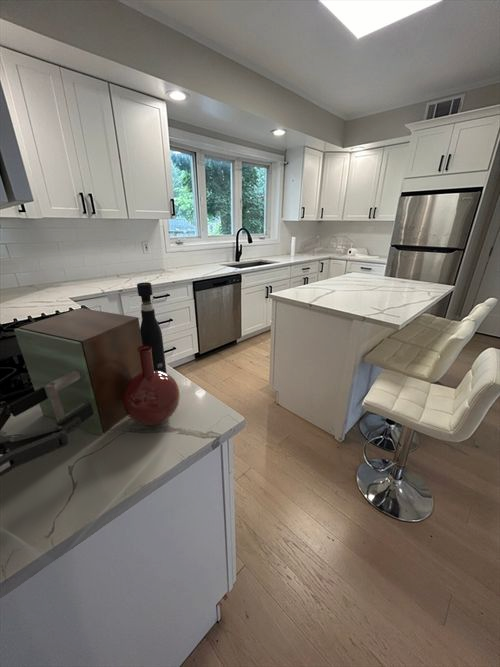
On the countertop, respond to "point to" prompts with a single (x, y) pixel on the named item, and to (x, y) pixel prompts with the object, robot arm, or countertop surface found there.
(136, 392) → the round-bottom flask
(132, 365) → the cupboard
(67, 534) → the countertop surface
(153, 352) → the wine bottle
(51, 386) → the cupboard door
